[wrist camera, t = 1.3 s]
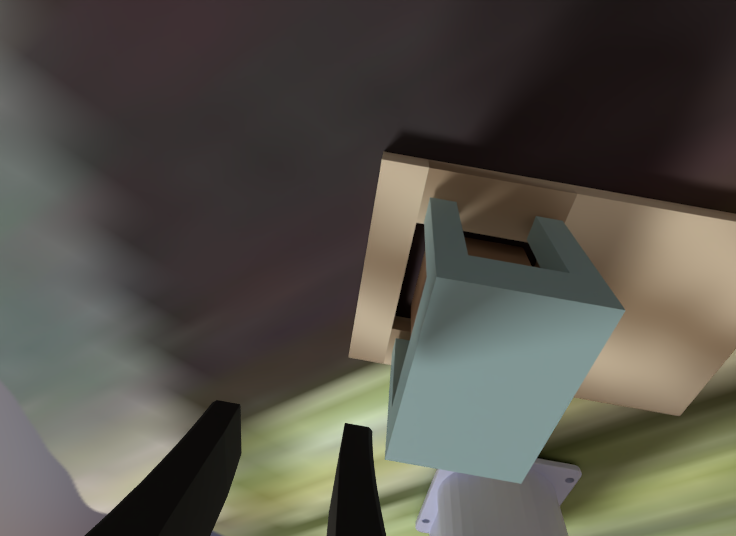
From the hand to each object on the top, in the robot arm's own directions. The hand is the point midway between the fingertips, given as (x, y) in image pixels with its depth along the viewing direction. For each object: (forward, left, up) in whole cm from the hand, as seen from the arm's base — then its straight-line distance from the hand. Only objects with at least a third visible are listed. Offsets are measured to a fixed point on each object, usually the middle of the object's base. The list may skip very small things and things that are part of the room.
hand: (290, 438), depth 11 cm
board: (0, -9, -9) cm, 13 cm away
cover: (0, -6, -8) cm, 10 cm away
